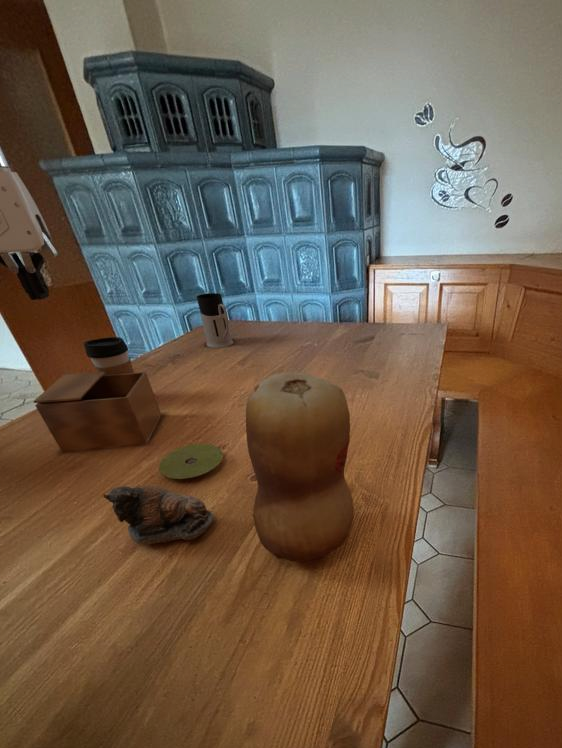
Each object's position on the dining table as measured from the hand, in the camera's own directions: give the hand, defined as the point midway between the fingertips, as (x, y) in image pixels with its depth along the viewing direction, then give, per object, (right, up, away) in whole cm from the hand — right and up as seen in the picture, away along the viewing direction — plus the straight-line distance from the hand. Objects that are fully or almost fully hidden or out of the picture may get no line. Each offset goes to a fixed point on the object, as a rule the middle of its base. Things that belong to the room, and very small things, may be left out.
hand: (40, 297), depth 66 cm
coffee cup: (-2, -12, +29) cm, 32 cm away
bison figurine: (+27, -40, -8) cm, 49 cm away
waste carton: (+2, -21, +17) cm, 27 cm away
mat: (+24, -29, +6) cm, 38 cm away
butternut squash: (+48, -41, -9) cm, 63 cm away
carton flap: (-2, -13, +10) cm, 16 cm away
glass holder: (+10, +13, +62) cm, 64 cm away
